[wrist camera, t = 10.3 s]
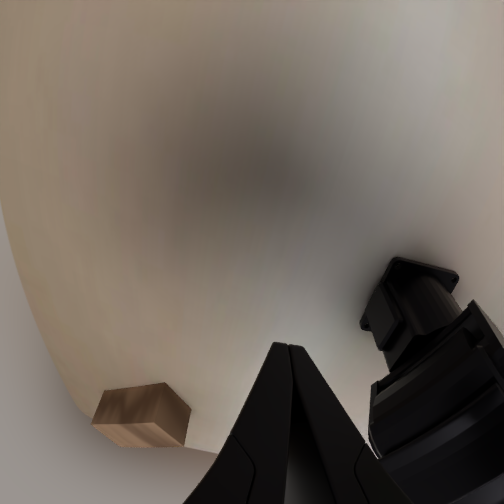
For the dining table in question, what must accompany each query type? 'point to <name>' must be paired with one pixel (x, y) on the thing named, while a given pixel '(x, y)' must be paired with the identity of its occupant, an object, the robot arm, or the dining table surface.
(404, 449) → the robot arm
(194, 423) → the dining table surface
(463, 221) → the dining table surface
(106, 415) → the walnut block
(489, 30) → the dining table surface
